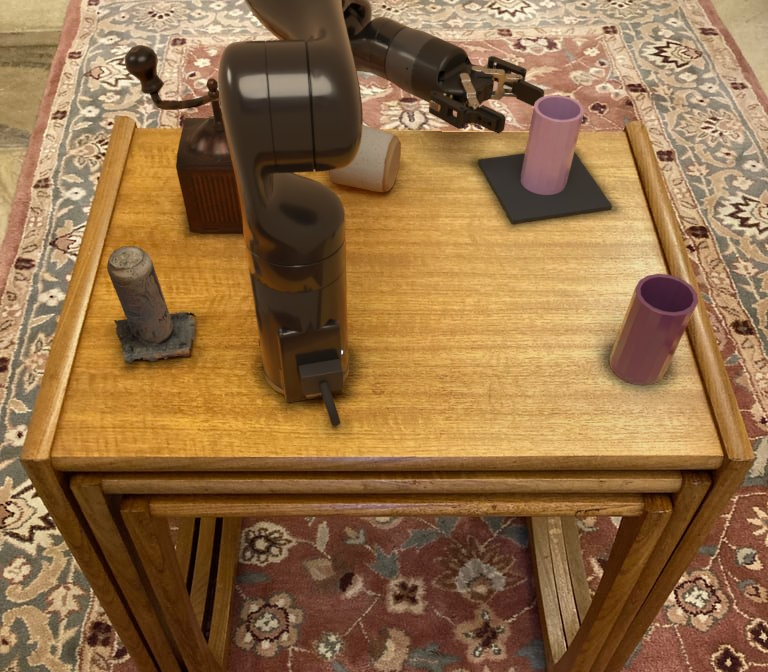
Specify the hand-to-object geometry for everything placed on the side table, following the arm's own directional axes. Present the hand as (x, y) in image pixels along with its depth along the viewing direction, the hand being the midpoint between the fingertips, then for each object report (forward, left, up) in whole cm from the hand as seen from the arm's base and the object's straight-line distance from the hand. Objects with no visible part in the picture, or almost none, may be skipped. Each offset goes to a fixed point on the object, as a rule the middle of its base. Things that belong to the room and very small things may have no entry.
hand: (523, 112), depth 98 cm
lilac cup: (-4, -3, -8) cm, 9 cm away
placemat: (-4, -3, -8) cm, 10 cm away
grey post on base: (-22, +50, -8) cm, 56 cm away
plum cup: (-38, -1, -8) cm, 39 cm away
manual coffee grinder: (+1, +41, -8) cm, 42 cm away
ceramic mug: (+3, +20, -8) cm, 22 cm away
